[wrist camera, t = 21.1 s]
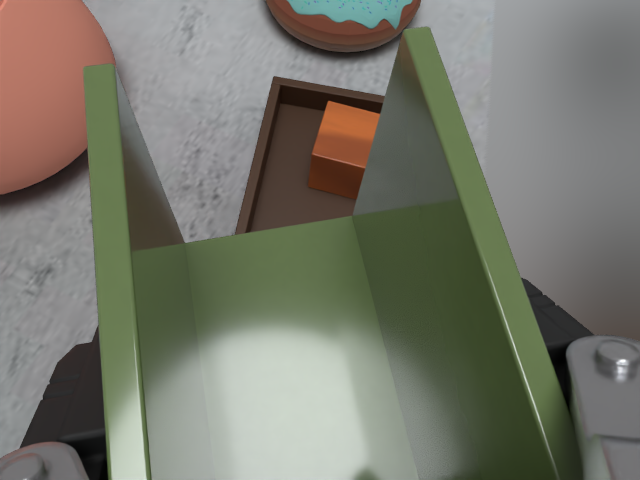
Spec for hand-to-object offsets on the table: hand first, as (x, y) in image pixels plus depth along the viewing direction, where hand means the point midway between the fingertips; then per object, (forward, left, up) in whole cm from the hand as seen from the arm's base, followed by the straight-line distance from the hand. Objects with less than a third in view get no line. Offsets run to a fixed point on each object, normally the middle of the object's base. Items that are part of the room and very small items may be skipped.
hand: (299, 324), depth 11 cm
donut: (+21, -23, -22) cm, 38 cm away
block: (+8, -12, -19) cm, 24 cm away
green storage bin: (-1, +1, -4) cm, 4 cm away
